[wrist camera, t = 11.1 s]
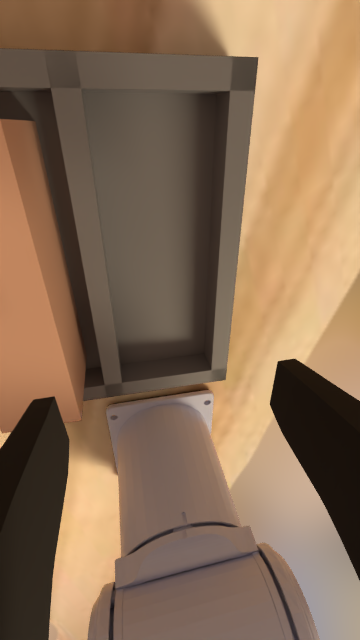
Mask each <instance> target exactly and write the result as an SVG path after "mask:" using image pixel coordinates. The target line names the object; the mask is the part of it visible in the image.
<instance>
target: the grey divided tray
mask: <svg viewBox="0 0 360 640" xmlns="http://www.w3.org/2000/svg"><path fill="white" fill-rule="evenodd" d="M257 65H258V57H233V56H204V55H176V54H147V53H118V52H90V51H61V50H32V49H3V48H0V119H9V120H26V121H35V122H36V127H37V131H38V136H39V140H40V145H41V149H42V154H43V159H44V163H45V168H46V172H47V177H48V181H49V186H50V190H51V195H52V199H53V204H54V209H55V213H56V218H57V222H58V227H59V231H60V236H61V240H62V245H63V249H64V254H65V258H66V263H67V268H68V272H69V277H70V281H71V286H72V290H73V295H74V299H75V304H76V308H77V313H78V318H79V322H80V327H81V331H82V336H83V340H84V345H85V349H86V354H87V359H86V371H85V383H84V395H83V401H86V400H93V399H100V398H106V397H113V396H120V395H127V394H133V393H140V392H147V391H154V390H161V389H167V388H174V387H181V386H188V385H194V384H201V383H208V382H215V381H222V380H226V371H227V361H228V351H229V341H230V332H231V322H232V312H233V302H234V292H235V282H236V272H237V263H238V253H239V243H240V233H241V223H242V213H243V203H244V194H245V184H246V174H247V164H248V154H249V144H250V134H251V125H252V115H253V105H254V95H255V85H256V75H257Z"/></svg>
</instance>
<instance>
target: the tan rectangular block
mask: <svg viewBox="0 0 360 640" xmlns="http://www.w3.org/2000/svg"><path fill="white" fill-rule="evenodd" d="M86 359H87V354H86V349H85V345H84V340H83V336H82V331H81V327H80V322H79V318H78V313H77V308H76V304H75V299H74V295H73V290H72V286H71V281H70V277H69V272H68V268H67V263H66V258H65V254H64V249H63V245H62V240H61V236H60V231H59V227H58V222H57V218H56V213H55V209H54V204H53V199H52V195H51V190H50V186H49V181H48V177H47V172H46V168H45V163H44V159H43V154H42V149H41V145H40V140H39V136H38V131H37V127H36V122H35V121H26V120H9V119H0V429H1V431H2V433H6V432H12V431H13V429H14V428H15V426H16V425H17V423H18V422H19V420H20V418H21V417H22V415H23V414H24V412H25V411H26V409H27V408H28V406H29V404H30V403H31V402H32V401H33V400H34V399H40V398H47V397H53V396H55V399H56V402H57V405H58V408H59V411H60V414H61V417H62V419H63V422H64V423H68V422H74V421H80V420H82V407H83V395H84V383H85V371H86Z"/></svg>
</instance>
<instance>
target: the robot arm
mask: <svg viewBox="0 0 360 640" xmlns="http://www.w3.org/2000/svg"><path fill="white" fill-rule="evenodd" d="M207 400H208V401H207ZM213 401H214V395H213V392H212V391H210V390H203V391H197V392H190V393H184V394H177V395H170V396H164V397H157V398H151V399H144V400H137V401H131V402H124V403H118V404H112V405H109V406H108V407H107V408H106V416H107V421H108V426H109V431H110V437H111V442H112V447H113V452H114V458H115V463H116V468H117V473H118V482H119V510H120V538H121V558H118V559H116V560H115V582H112V583H109V584H106V585H104V587H103V588H102V590H101V593H100V595H99V597H98V598H97V600H96V602H95V603H94V605H93V608H92V612H91V617H90V623H89V630H88V640H320V639H319V636H318V632H317V630H316V626H315V623H314V620H313V618H312V615H311V612H310V610H309V607H308V604H307V602H306V600H305V597H304V595H303V593H302V590H301V588H300V586H299V584H298V582H297V580H296V578H295V576H294V574H293V572H292V570H291V569H290V567H289V566H288V564H287V563H286V561H285V560H284V559H283V558H282V556H281V555H280V554H278V553H277V552H276V551H274V550H273V549H272V547H270V546H269V545H268V544H266V543H260V544H256V542H255V539H254V537H253V534H252V531H251V528H250V527H249V526H244V527H242V526H241V524H240V520H239V517H238V515H237V512H236V509H235V506H234V503H233V500H232V497H231V494H230V491H229V488H228V485H227V482H226V479H225V476H224V473H223V470H222V467H221V464H220V461H219V458H218V455H217V452H216V449H215V446H214V444H213V441H212V438H211V427H212V414H213ZM270 406H271V408H272V411H273V413H274V415H275V418H276V420H277V422H278V425H279V427H280V429H281V431H282V433H283V435H284V437H285V438H286V440H287V442H288V444H289V445H290V447H291V449H292V450H293V452H294V454H295V456H296V457H297V459H298V461H299V462H300V464H301V466H302V467H303V469H304V471H305V472H306V474H307V476H308V477H309V479H310V481H311V483H312V484H313V486H314V488H315V489H316V491H317V493H318V494H319V496H320V498H321V500H322V501H323V503H324V505H325V507H326V509H327V511H328V513H329V515H330V517H331V519H332V521H333V523H334V525H335V528H336V530H337V532H338V534H339V536H340V538H341V540H342V542H343V544H344V547H345V549H346V551H347V553H348V555H349V558H350V560H351V562H352V564H353V567H354V569H355V571H356V573H357V575H358V578H359V580H360V401H359V400H357V399H356V398H354V397H352V396H351V395H349V394H348V393H346V392H345V391H343V390H342V389H340V388H338V387H337V386H336V385H334V384H332V383H331V382H330V381H328V380H326V379H325V378H323V377H322V376H321V375H319V374H317V373H316V372H315V371H313V370H312V369H310V368H308V367H307V366H305V365H304V364H302V363H301V362H299V361H298V360H296V359H290V360H283V361H278V363H277V369H276V374H275V379H274V384H273V390H272V395H271V400H270ZM112 415H115V416H112ZM68 463H69V437H68V434H67V431H66V428H65V425H64V422H63V419H62V417H61V414H60V411H59V408H58V405H57V402H56V399H55V396H53V397H47V398H40V399H34V400H33V401H32V402H31V403H30V404H29V406H28V408H27V409H26V411H25V412H24V414H23V415H22V417H21V418H20V420H19V422H18V423H17V425H16V426H15V428H14V429H13V431H12V432H11V434H10V435H9V437H8V438H7V440H6V441H5V443H4V444H3V446H2V447H1V449H0V640H48V638H49V620H50V606H51V592H52V578H53V569H54V561H55V554H56V547H57V541H58V535H59V528H60V522H61V516H62V510H63V503H64V497H65V490H66V484H67V477H68Z"/></svg>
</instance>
